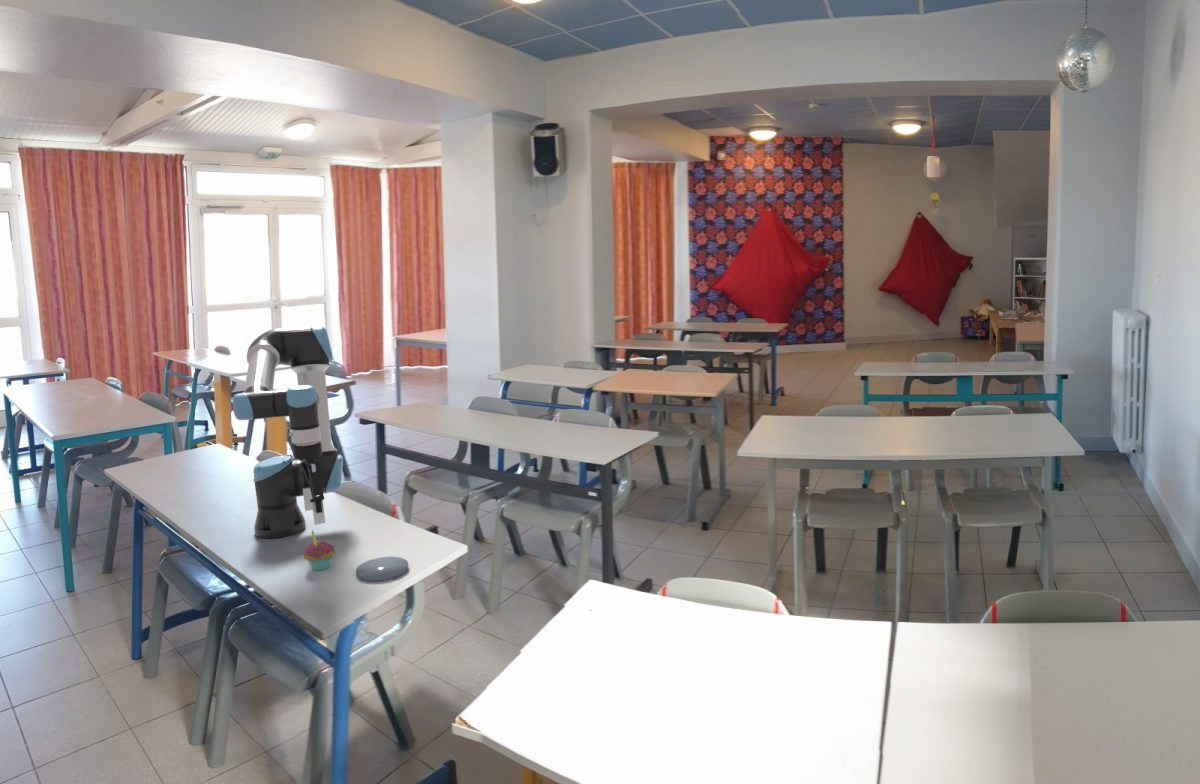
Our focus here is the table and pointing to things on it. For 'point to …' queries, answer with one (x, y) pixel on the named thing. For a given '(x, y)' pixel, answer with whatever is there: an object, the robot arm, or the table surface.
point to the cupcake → (319, 554)
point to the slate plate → (382, 569)
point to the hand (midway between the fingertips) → (314, 516)
